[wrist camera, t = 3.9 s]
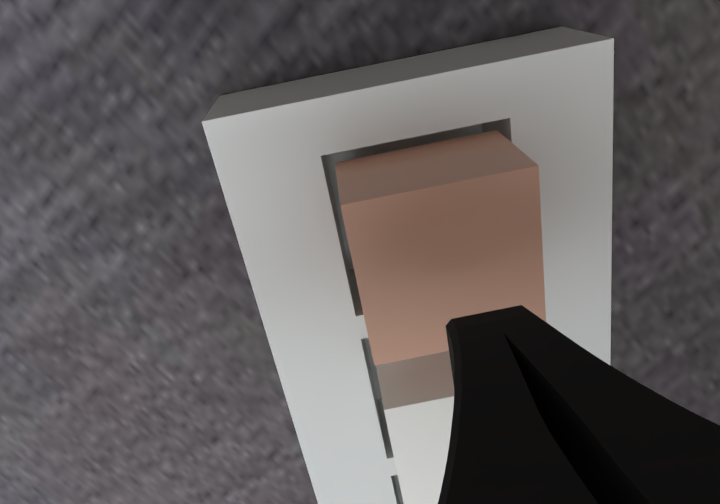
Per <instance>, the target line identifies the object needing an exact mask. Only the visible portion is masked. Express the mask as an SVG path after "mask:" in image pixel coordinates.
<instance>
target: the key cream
mask: <svg viewBox="0 0 720 504" xmlns="http://www.w3.org/2000/svg"><path fill="white" fill-rule="evenodd" d="M376 368H377V373H378V379H379V385H380V391H381V397H382V402H383V408H384V413H385V418H386V423H387V427H388V432H389V437H390V442H391V446H392V451H393V456H394V460H395V465H396V470H397V475H398V479H399V484H400V489H401V493H402V498H403V503H404V504H438V501H439V497H440V492H441V487H442V483H443V478H444V473H445V468H446V462H447V456H448V450H449V443H450V435H451V426H452V416H453V407H454V383H453V376H452V369H451V362H450V354H449V351H446V352H441V353H435V354H430V355H425V356H420V357H415V358H410V359H405V360H400V361H395V362H390V363H385V364H380V365H376Z"/></svg>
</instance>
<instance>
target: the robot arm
mask: <svg viewBox="0 0 720 504" xmlns="http://www.w3.org/2000/svg"><path fill="white" fill-rule="evenodd" d="M446 333H447V340H448V347H449V354H450V362H451V369H452V376H453V383H454V407H453V416H452V426H451V435H450V443H449V450H448V456H447V462H446V468H445V473H444V478H443V483H442V487H441V492H440V497H439V501H438V504H720V426H719V425H717V424H715V423H713V422H711V421H709V420H707V419H705V418H703V417H701V416H699V415H697V414H695V413H693V412H691V411H689V410H687V409H685V408H683V407H681V406H679V405H677V404H675V403H674V402H672V401H670V400H668V399H666V398H665V397H663V396H661V395H659V394H658V393H656V392H654V391H652V390H651V389H649V388H647V387H645V386H643V385H642V384H640V383H638V382H636V381H635V380H633V379H631V378H630V377H628V376H626V375H625V374H623V373H621V372H620V371H618V370H616V369H615V368H613V367H612V366H610V365H609V364H607V363H606V362H604V361H602V360H601V359H599V358H598V357H596V356H595V355H593V354H592V353H590V352H589V351H587V350H586V349H584V348H583V347H581V346H580V345H578V344H577V343H575V342H574V341H572V340H571V339H569V338H568V337H567V336H565V335H564V334H562V333H561V332H559V331H558V330H557V329H555V328H554V327H552V326H551V325H549V324H548V323H547V322H545V321H544V320H542V319H541V318H539V317H538V316H537V315H535V314H534V313H532V312H531V311H529V310H528V309H527V308H525V307H524V306H522V305H519V306H514V307H509V308H504V309H499V310H493V311H488V312H483V313H478V314H473V315H468V316H463V317H458V318H453V319H451V320H450V321H449V322H448V323H447V325H446Z"/></svg>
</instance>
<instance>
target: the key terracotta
mask: <svg viewBox="0 0 720 504" xmlns="http://www.w3.org/2000/svg"><path fill="white" fill-rule="evenodd" d="M335 170H336V177H337V184H338V192H339V199H340V206H341V211H342V215H343V220H344V225H345V229H346V234H347V239H348V244H349V248H350V253H351V258H352V262H353V267H354V272H355V277H356V281H357V286H358V291H359V295H360V300H361V305H362V310H363V314H364V319H365V324H366V328H367V333H368V338H369V343H370V347H371V352H372V357H373V361H374V366H375V365H380V364H385V363H390V362H395V361H400V360H405V359H410V358H415V357H420V356H425V355H430V354H435V353H441V352H446V351H449V347H448V340H447V333H446V325H447V323H448V322H449V321H450V320H451V319H453V318H458V317H463V316H468V315H473V314H478V313H483V312H488V311H493V310H499V309H504V308H509V307H514V306H519V305H522V306H524V307H525V308H527V309H528V310H529V311H531V312H532V313H534V314H535V315H537V316H538V317H539V318H541V319H542V320H544V321H545V322H546V308H545V287H544V266H543V245H542V224H541V203H540V182H539V165H537V164H536V163H535V162H534V161H533V160H532V159H530V158H529V157H528V156H527V155H526V154H525V153H523V152H522V151H521V150H520V149H519V148H518V147H516V146H515V145H514V144H513V143H512V142H510V141H509V140H508V139H507V138H506V137H505V136H503V135H502V134H501V133H500V132H499V131H498V130H494V131H489V132H484V133H479V134H474V135H469V136H464V137H459V138H454V139H449V140H444V141H439V142H434V143H429V144H425V145H420V146H415V147H410V148H405V149H400V150H395V151H390V152H385V153H380V154H375V155H370V156H365V157H360V158H355V159H350V160H345V161H340V162H335Z"/></svg>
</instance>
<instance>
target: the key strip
mask: <svg viewBox="0 0 720 504" xmlns="http://www.w3.org/2000/svg"><path fill="white" fill-rule="evenodd" d="M613 77H614V38H611V37H606V36H602V35H597V34H593V33H588V32H584V31H580V30H575V29H571V28H566V27H562V26H561V27H556V28H551V29H546V30H541V31H536V32H531V33H527V34H522V35H517V36H512V37H507V38H502V39H497V40H492V41H487V42H482V43H477V44H472V45H467V46H462V47H457V48H452V49H447V50H443V51H438V52H433V53H428V54H423V55H418V56H413V57H408V58H403V59H398V60H393V61H388V62H383V63H378V64H373V65H368V66H363V67H359V68H354V69H349V70H344V71H339V72H334V73H329V74H324V75H319V76H314V77H309V78H304V79H299V80H294V81H289V82H284V83H279V84H275V85H270V86H265V87H260V88H255V89H250V90H245V91H240V92H235V93H230V94H225V95H220V96H219V97H218V99H217V100H216V102H215V103H214V104H213V106H212V107H211V109H210V110H209V112H208V113H207V115H206V116H205V117H204V119H203V120H202V125H203V128H204V131H205V134H206V138H207V141H208V144H209V148H210V151H211V154H212V157H213V161H214V164H215V167H216V170H217V174H218V177H219V180H220V184H221V187H222V190H223V193H224V197H225V200H226V203H227V207H228V210H229V213H230V216H231V220H232V223H233V226H234V229H235V233H236V236H237V239H238V243H239V246H240V249H241V252H242V256H243V259H244V262H245V266H246V269H247V272H248V275H249V279H250V282H251V285H252V288H253V292H254V295H255V298H256V302H257V305H258V308H259V311H260V315H261V318H262V321H263V325H264V328H265V331H266V334H267V338H268V341H269V344H270V347H271V351H272V354H273V357H274V361H275V364H276V367H277V370H278V374H279V377H280V380H281V384H282V387H283V390H284V393H285V397H286V400H287V403H288V406H289V410H290V413H291V416H292V420H293V423H294V426H295V429H296V433H297V436H298V439H299V443H300V446H301V449H302V452H303V456H304V459H305V462H306V465H307V469H308V472H309V475H310V479H311V482H312V485H313V488H314V492H315V495H316V498H317V501H318V504H404V503H403V498H402V493H401V489H400V484H399V479H398V475H397V470H396V465H395V460H394V456H393V451H392V446H391V442H390V437H389V432H388V427H387V423H386V418H385V413H384V408H383V402H382V397H381V391H380V385H379V379H378V373H377V368H376V365H375V366H374V361H373V357H372V352H371V347H370V343H369V338H368V333H367V328H366V324H365V319H364V314H363V310H362V305H361V300H360V295H359V291H358V286H357V281H356V277H355V272H354V267H353V262H352V258H351V253H350V248H349V244H348V239H347V234H346V229H345V225H344V220H343V215H342V211H341V206H340V199H339V192H338V184H337V177H336V170H335V162H340V161H345V160H350V159H355V158H360V157H365V156H370V155H375V154H380V153H385V152H390V151H395V150H400V149H405V148H410V147H415V146H420V145H425V144H429V143H434V142H439V141H444V140H449V139H454V138H459V137H464V136H469V135H474V134H479V133H484V132H489V131H494V130H498V131H499V132H500V133H501V134H502V135H503V136H505V137H506V138H507V139H508V140H509V141H510V142H512V143H513V144H514V145H515V146H516V147H518V148H519V149H520V150H521V151H522V152H523V153H525V154H526V155H527V156H528V157H529V158H530V159H532V160H533V161H534V162H535V163H536V164H537V165H539V182H540V203H541V224H542V245H543V266H544V287H545V308H546V322H547V323H548V324H549V325H551V326H552V327H554V328H555V329H557V330H558V331H559V332H561V333H562V334H564V335H565V336H567V337H568V338H569V339H571V340H572V341H574V342H575V343H577V344H578V345H580V346H581V347H583V348H584V349H586V350H587V351H589V352H590V353H592V354H593V355H595V356H596V357H598V358H599V359H601V360H602V361H604V362H606V363H607V364H609V365H610V348H611V257H612V167H613Z"/></svg>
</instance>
